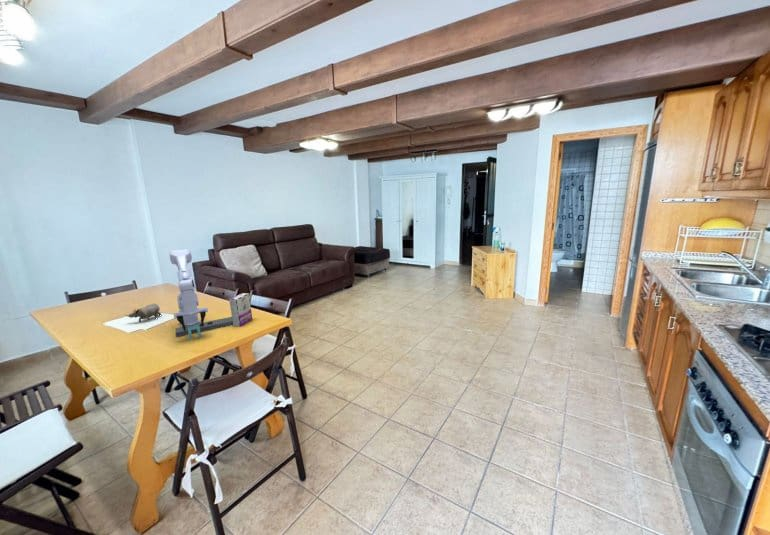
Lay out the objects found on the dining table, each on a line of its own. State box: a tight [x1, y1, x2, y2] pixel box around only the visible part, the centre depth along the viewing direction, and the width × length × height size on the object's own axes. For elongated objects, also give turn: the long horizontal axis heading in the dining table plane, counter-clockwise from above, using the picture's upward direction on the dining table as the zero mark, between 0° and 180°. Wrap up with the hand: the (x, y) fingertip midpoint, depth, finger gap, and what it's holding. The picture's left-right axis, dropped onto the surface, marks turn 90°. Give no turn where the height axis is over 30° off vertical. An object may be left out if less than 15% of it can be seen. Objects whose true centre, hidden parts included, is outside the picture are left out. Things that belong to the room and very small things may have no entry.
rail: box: [174, 316, 233, 338], centre depth 166 cm, size 28×8×2 cm, turn 124°
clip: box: [186, 323, 202, 341], centre depth 154 cm, size 5×2×6 cm, turn 124°
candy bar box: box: [228, 292, 253, 328], centre depth 171 cm, size 11×5×16 cm, turn 168°
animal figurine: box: [124, 303, 163, 322], centre depth 180 cm, size 8×14×15 cm
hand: (193, 327), depth 153 cm, fingers open, 7 cm apart
